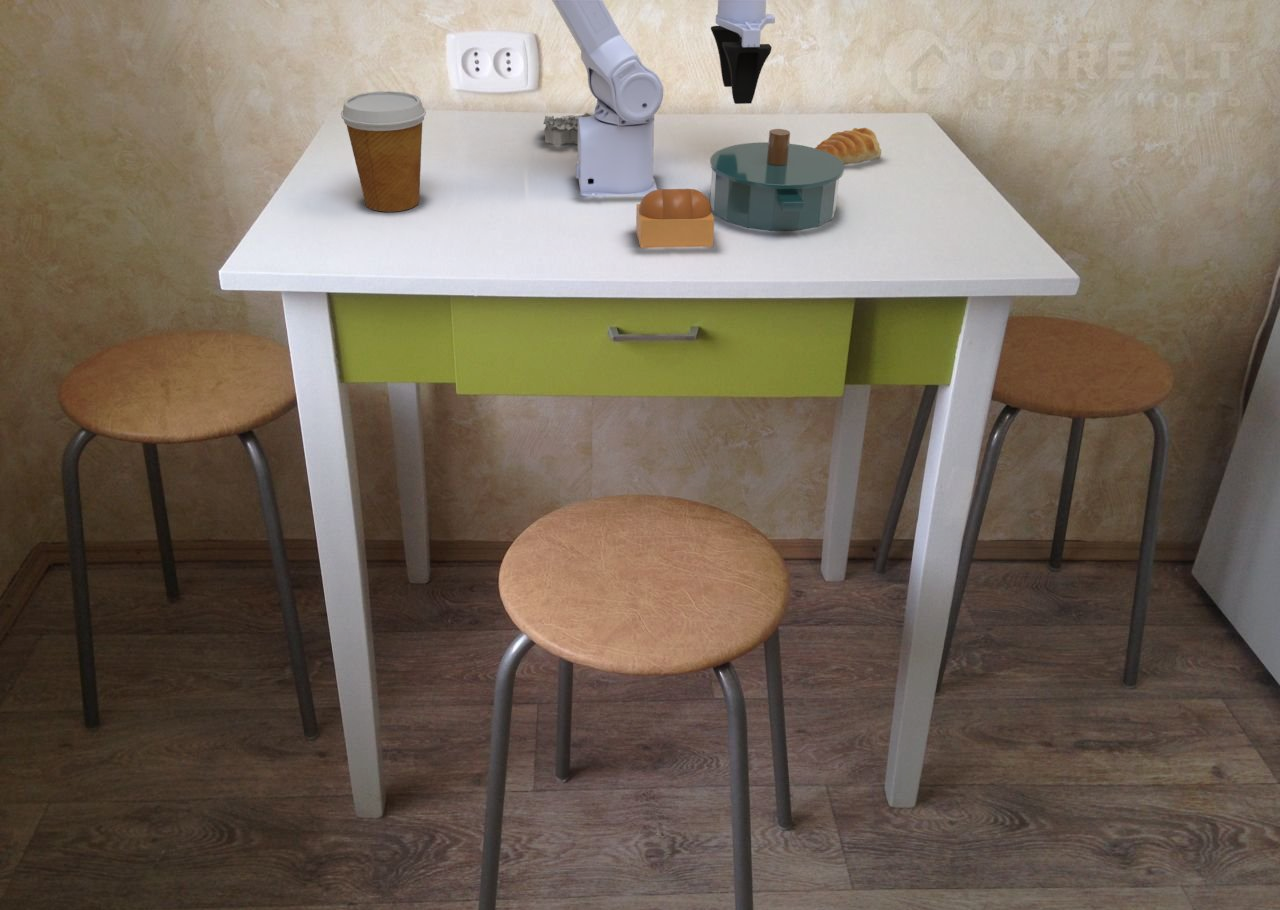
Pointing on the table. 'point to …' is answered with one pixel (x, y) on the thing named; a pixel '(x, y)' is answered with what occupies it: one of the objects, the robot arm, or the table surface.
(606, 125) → the robot arm
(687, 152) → the table surface
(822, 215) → the pot
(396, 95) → the disposable coffee cup
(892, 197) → the table surface
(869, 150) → the pastry
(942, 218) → the table surface
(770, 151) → the lid
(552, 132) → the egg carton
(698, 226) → the bread
